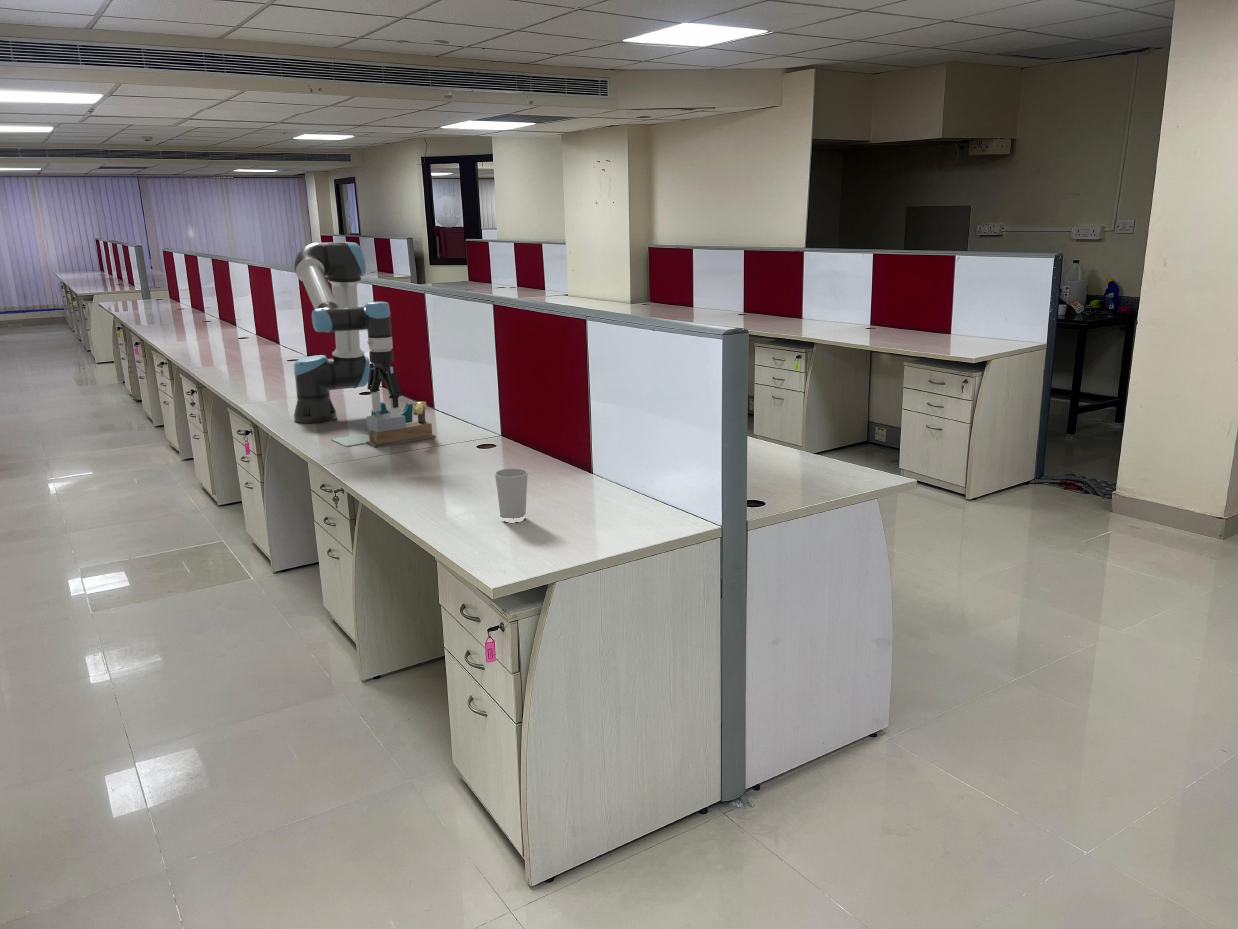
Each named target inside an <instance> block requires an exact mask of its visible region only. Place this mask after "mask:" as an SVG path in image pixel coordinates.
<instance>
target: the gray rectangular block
mask: <svg viewBox="0 0 1238 929" xmlns="http://www.w3.org/2000/svg"><path fill="white" fill-rule="evenodd" d="M399 416H400V417H395V418H391V413H387V414H381V415H374V416H371V415H368V416H366V427H367V428H366V429H368V430H369V429H370V430H373V431H375V432H384V431H390V430H397V429H403V428H406V421H405V416H403V415H400V414H399Z"/></svg>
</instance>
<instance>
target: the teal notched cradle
mask: <svg viewBox="0 0 1238 929" xmlns="http://www.w3.org/2000/svg"><path fill="white" fill-rule="evenodd" d="M380 403H381V411H378V412H373V409H371V415H370V416H374V415H381V414H387V413H390V409H387V405H386V403H385V402H383V401H382V402H381V401H380ZM413 406H414V405H413V403H412V402H406V403H405V406H404V408H403V409H399V414H400V415H403V416H405V421H406V423H409V422H413V413H414V411H413V409H414V408H413Z"/></svg>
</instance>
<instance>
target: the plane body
mask: <svg viewBox="0 0 1238 929" xmlns="http://www.w3.org/2000/svg"><path fill="white" fill-rule="evenodd" d="M417 419H418V420H416V421H412V422H409V423H406V428H403V429H397V430H390V431H384V432H375V431H373V430H370V429H368V435H369V439H370V441H366V444H365V445H367V446H368V445H369V446H371V447H374V448H380V447H386V446H393V445H398V444H405V443H411V442H417V441H423V440H427V439H428V440H429V439H433V438H434V439H435V438H436V437H437V436H436V434H435V433H433V426H432V422H429V421H427V420H426V409H423V411H422V414H421V415H417Z"/></svg>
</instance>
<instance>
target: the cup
mask: <svg viewBox="0 0 1238 929" xmlns="http://www.w3.org/2000/svg"><path fill="white" fill-rule="evenodd" d="M528 474H529V472H528V470H526V469H524V468H517V467H516V468H503V469H499V470H496V471H495V472H494V476H495V485H496V488H497V489H496V490H497V498H498V507H499V518H500V517H502V518H513V519H514V518H520V517H523V516H524V515H525V514H526V512H527V493H528V491H527V489H528V478H529V477H528Z"/></svg>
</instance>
